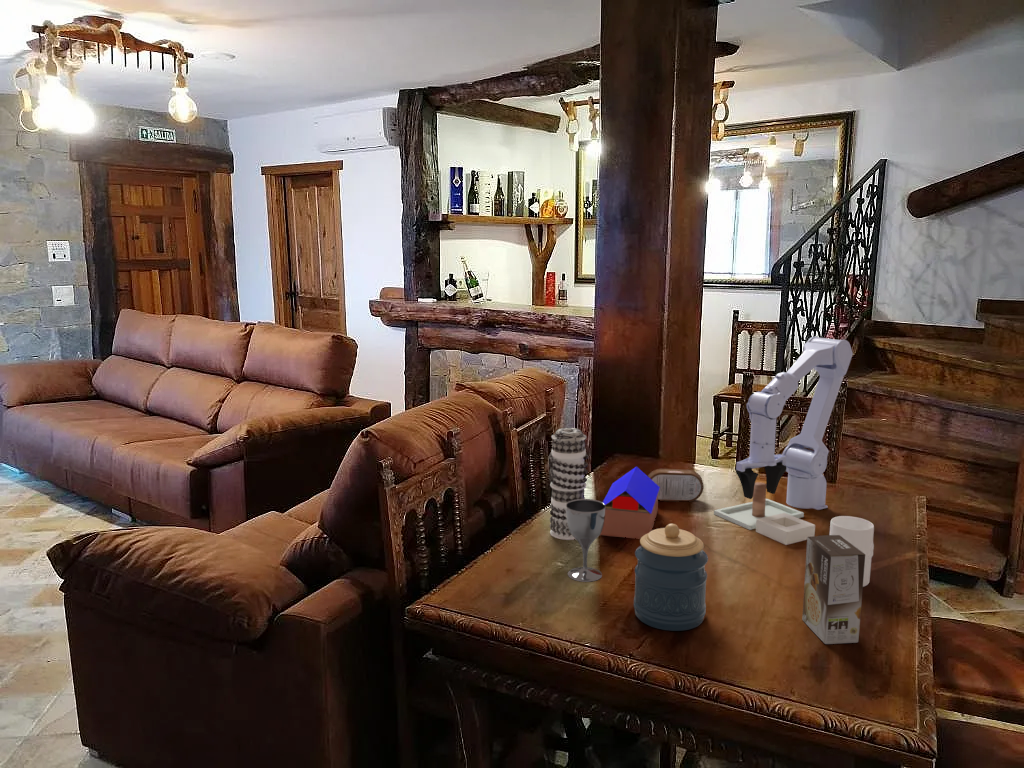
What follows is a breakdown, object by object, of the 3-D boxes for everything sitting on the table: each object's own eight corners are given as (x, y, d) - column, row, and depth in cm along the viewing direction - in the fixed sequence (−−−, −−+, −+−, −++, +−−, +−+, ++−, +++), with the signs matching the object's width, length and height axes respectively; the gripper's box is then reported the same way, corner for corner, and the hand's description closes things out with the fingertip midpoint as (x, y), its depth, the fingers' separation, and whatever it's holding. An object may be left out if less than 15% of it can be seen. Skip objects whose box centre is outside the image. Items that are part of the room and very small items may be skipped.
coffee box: (860, 643, 130) (868, 554, 127) (824, 645, 129) (831, 556, 126) (833, 617, 139) (840, 534, 136) (799, 619, 138) (805, 535, 135)
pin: (758, 512, 190) (759, 481, 188) (767, 516, 187) (769, 484, 186) (749, 514, 188) (750, 483, 187) (758, 518, 186) (760, 486, 184)
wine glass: (607, 569, 160) (609, 501, 157) (599, 585, 152) (600, 513, 149) (571, 564, 162) (571, 497, 159) (561, 579, 155) (561, 509, 152)
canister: (719, 626, 136) (723, 533, 132) (653, 637, 132) (656, 541, 129) (683, 594, 148) (686, 508, 145) (621, 604, 144) (623, 515, 141)
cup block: (783, 528, 181) (784, 512, 181) (814, 541, 174) (815, 524, 173) (755, 535, 177) (756, 519, 177) (785, 549, 169) (786, 532, 169)
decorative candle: (565, 522, 186) (566, 423, 181) (595, 532, 179) (597, 430, 175) (540, 532, 180) (540, 430, 175) (569, 543, 173) (570, 437, 169)
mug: (861, 564, 161) (866, 511, 159) (874, 589, 150) (879, 531, 147) (820, 561, 163) (824, 508, 161) (830, 585, 151) (834, 528, 149)
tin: (702, 499, 203) (703, 469, 201) (703, 503, 200) (705, 472, 198) (644, 497, 204) (645, 467, 203) (645, 501, 201) (646, 471, 199)
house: (659, 512, 194) (660, 468, 192) (650, 541, 175) (651, 493, 173) (612, 507, 197) (613, 464, 195) (598, 536, 178) (599, 488, 176)
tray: (766, 505, 197) (766, 498, 197) (803, 520, 187) (804, 512, 186) (713, 517, 189) (713, 510, 188) (749, 533, 178) (749, 525, 178)
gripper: (752, 449, 177) (749, 504, 180) (797, 441, 184) (793, 495, 186) (731, 442, 183) (728, 496, 186) (774, 435, 190) (771, 487, 193)
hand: (759, 495), depth 187 cm, fingers open, 7 cm apart
